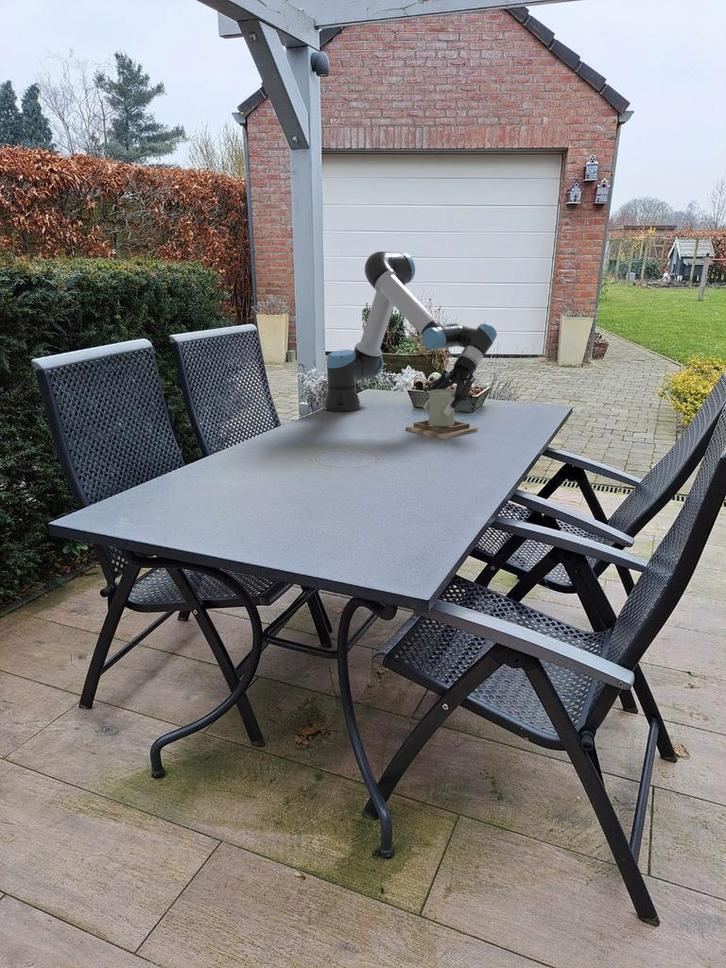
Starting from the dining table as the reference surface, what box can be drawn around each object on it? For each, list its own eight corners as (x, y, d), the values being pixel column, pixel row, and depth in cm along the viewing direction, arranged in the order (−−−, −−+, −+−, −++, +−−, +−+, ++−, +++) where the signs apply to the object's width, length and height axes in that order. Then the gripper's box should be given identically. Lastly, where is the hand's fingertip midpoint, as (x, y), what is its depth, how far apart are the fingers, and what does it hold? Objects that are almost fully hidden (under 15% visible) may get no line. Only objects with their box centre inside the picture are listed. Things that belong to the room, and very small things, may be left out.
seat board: (405, 430, 229) (405, 422, 228) (440, 422, 240) (440, 415, 239) (442, 439, 216) (442, 431, 215) (477, 431, 227) (477, 423, 226)
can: (423, 422, 229) (424, 389, 225) (445, 419, 233) (446, 386, 229) (437, 427, 221) (438, 393, 218) (459, 424, 225) (460, 390, 221)
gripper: (496, 372, 223) (463, 423, 218) (450, 365, 239) (418, 413, 234) (487, 358, 218) (453, 410, 213) (441, 352, 234) (408, 401, 229)
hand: (435, 412), depth 224 cm, fingers closed on can, 9 cm apart
